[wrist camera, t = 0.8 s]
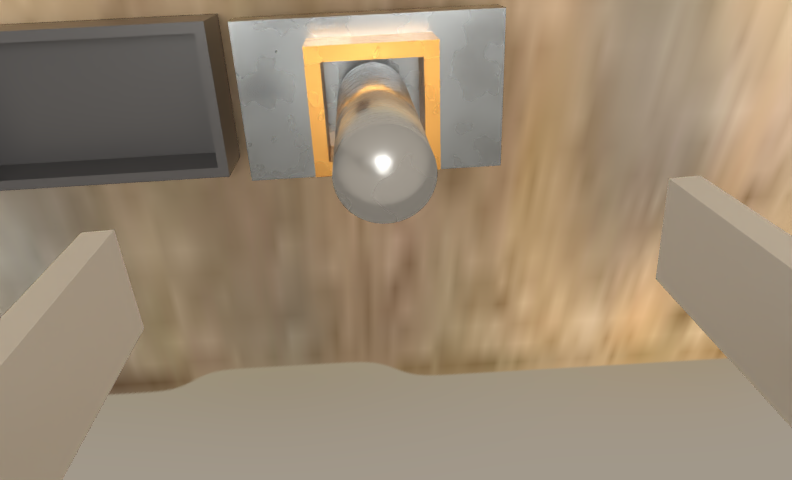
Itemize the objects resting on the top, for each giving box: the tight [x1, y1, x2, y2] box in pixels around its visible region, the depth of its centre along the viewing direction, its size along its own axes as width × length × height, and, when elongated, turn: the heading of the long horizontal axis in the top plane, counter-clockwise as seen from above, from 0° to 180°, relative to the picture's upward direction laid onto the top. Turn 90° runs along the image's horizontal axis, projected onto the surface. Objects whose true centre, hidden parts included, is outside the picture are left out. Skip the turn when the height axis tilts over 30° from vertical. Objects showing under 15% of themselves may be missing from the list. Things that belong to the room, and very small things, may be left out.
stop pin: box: [332, 62, 437, 224], centre depth 29 cm, size 4×4×13 cm
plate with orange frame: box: [228, 4, 506, 181], centre depth 36 cm, size 15×9×8 cm, turn 92°
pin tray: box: [0, 14, 240, 191], centre depth 37 cm, size 16×9×4 cm, turn 92°
